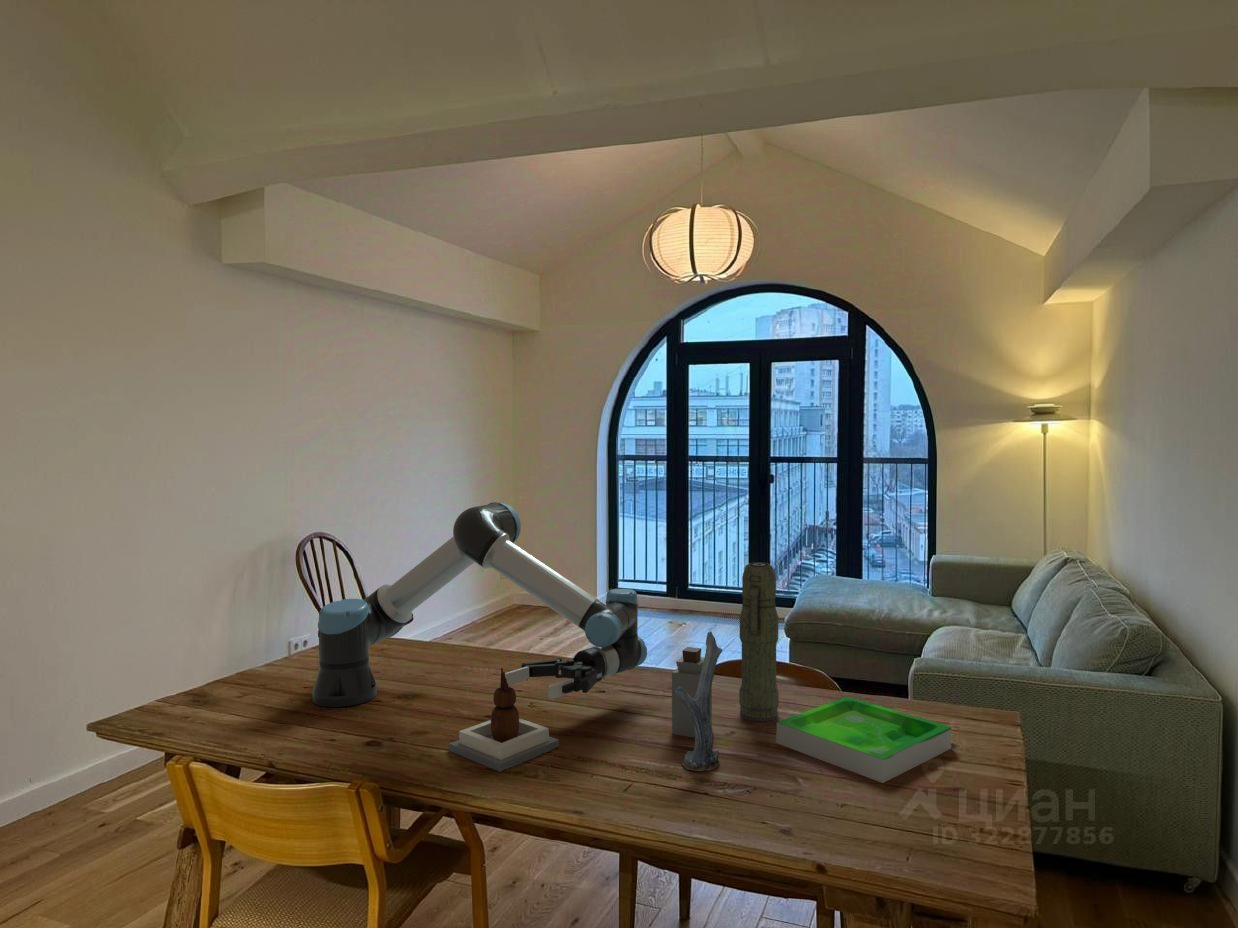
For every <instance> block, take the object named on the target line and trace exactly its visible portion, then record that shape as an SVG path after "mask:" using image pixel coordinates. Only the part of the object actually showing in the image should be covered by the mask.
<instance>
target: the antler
mask: <svg viewBox="0 0 1238 928" xmlns="http://www.w3.org/2000/svg"><path fill="white" fill-rule="evenodd" d="M706 634H707V635H706V637H705V638H706V640H705V645H706V647H705V652H704V653H705V655H704V658H705V659H704V662H703V667H702V670H701V675H700V679H699V684H698V688H697V692H696V695H695V697H694V699H693V698H692V697H691V696H690V695H688V693H687V692H686V691H685V690H684V688H683V687H681V686H679V687H677V688H676V689H675V693H676V695H677V696H678V698H679V699H680V700H682V701H683V703H685V705H686V707H687V710H688V712H689V715H690V716H691V719H692V722H693V724H694V731H695V738H694V746H693V747H694V749H693V751H691V750H688V751H686V754H685V755H684V759H683V760H684V761H683V762H682V763H681V766H683V767H684V768H685V769H686V770H690V771H691V770H692V771H695V772H696V771H697V772H703V771H712V770H715V769H716V768H717V767H718V766H719V765H720V760H719V756H720V755H719V753H720V752H719V750H715V751H713V746H714V745H713V744H714V734H713V730H712V729H713V728H711V722H710V716H711V714H710V691H711V686H712V684H713V679H714V676H715V673H716V672H715V671H716V666H717V663H718V659H719V658H720V656H721V653H722V652H723V649H722V648H721V647H719V646H718V645H717V644H718V643H717V641H716V637H715V636H714V634H713V633H712V631H708V632H707V633H706ZM712 687H713V686H712Z"/></svg>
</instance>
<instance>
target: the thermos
mask: <svg viewBox="0 0 1238 928" xmlns="http://www.w3.org/2000/svg"><path fill="white" fill-rule="evenodd" d="M773 567H774V566H773V565H772V564H770V563H768V562H762V561H761V562H760V561H758V562H755V561H754V562H749V563H748V564H746V565H745V567H744V570H743V572H742V577H741V579H742V580H741V581H742V582H741V584H742V585H741V590H742V592H741V593H742V594H741V595H742V604H741V606H742V607H741V611H740V614H739V640H740V642H741V685H740V688H739V690H738V691H739V694H738V696H739V699H738V700H739V701H738V702H739V707H740V708H739V715H740V717H742V718H744V719H746V720H748V721H754V722H771V721H774V720H776V719H778V716H779V712H778V708H779V703H780V702H779V699H780V698H779V696H780V695H779V694H780V693H779V692H780V691H779V687H778V684H777V643H778V642H779V615H778V612H777V609H776V608H777V607H776V606H777V604H776V598H777V595H776V594H777V593H776V592H777V585H776V584H777V583H776V582H777V578H776V577H777V576H776V573H775V570H774V568H773Z"/></svg>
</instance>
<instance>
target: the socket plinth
mask: <svg viewBox="0 0 1238 928" xmlns="http://www.w3.org/2000/svg"><path fill="white" fill-rule="evenodd" d="M549 730H550V729H549V728H548V727H546V726H543V725H541V724H537V723H535V722H531V721H529V720H525V719H522V718H520V717H519V731H518V735H517V737H516V738H513V739H511V740H508V741H506V742H503V743H500V742H498V741H495V740H494V739H493V736H492V732H491V719H490V720H487V721H484V722H481V723H479V724H475V725H473V726H469V727H467V728H464V729H461V730H459V731H458V733H459V734H458V736H459V737H458V740H455V741H452V742H449V743H448V751H449V752H451V753H453V754H456V755H458V756H461V757H463V758H466V759H468V760H470V761H473V762H476V763H478V764H480V765H483V766H484V767H487V768H490V769H492V770H494V771H497V772H499V773H500V772H501V773H502V772H503V770H504V771H506V770H508V769H510V767H511V768H513V767H515V766H518V765H520V764H522V762H523V763H525V762H527V761H530V760H531V759H534V758H536V756H537V757H539V756H540V755H544V754H546V753H548V752H550V750H551V751H553V750H555V749H557V748H556V747H558V748H559V747H560V739H558V738H555V737H552V736H550V731H549ZM554 748H555V749H554ZM552 749H553V750H552ZM547 751H548V752H547ZM545 752H546V753H545ZM543 753H544V754H543ZM529 759H530V760H529ZM505 769H506V770H505Z"/></svg>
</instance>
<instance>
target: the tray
mask: <svg viewBox="0 0 1238 928" xmlns="http://www.w3.org/2000/svg"><path fill="white" fill-rule="evenodd" d="M776 744H778V745H781V746H783V747H786V748H788V749H791V750H794V751H797V752H799V753H802V754H804V755H807V756H810V757H812V758H814V759H818V760H821V761H822V762H826V763H827V764H831V765H834V766H836V767H839V768H841V769H843V770H846V771H849V772H852V773H855V774H858V775H860V776H863V777H865V778H868V779H870V780H874V781H876V782H879V783H882V784H883V783H886V782H889V780H892V779H894V778H896V777H898V776H900V775H901V774H904V773H906V772H907V771H909V770H911V769H914V768H916V767H918V766H920V765H921V764H924V763H926V762H928V761H930V760H931V759H933V758H935V757H937V756H939V755H941V754H943V753H945V752H947V751H949V750H951V749H952V726H950V725H946V724H943V723H939V722H936V721H933V720H930V719H926V718H922V717H919V716H915V715H911V714H908V713H906V712H901V711H899V710H895V709H891V708H888V707H885V706H881V705H878V704H874V703H870V702H869V701H868V702H867V701H863V700H861V699H858V698H854V697H849V696H844V697H842V698H839V699H837V700H833V701H831V702H828V703H825V704H823V705H820V706H817V707H814V708H812V709H809V710H806V711H803V712H801V713H797V714H795V715H792V716H790V717H787V718H784V719H782V720H779V721H776Z"/></svg>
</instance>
